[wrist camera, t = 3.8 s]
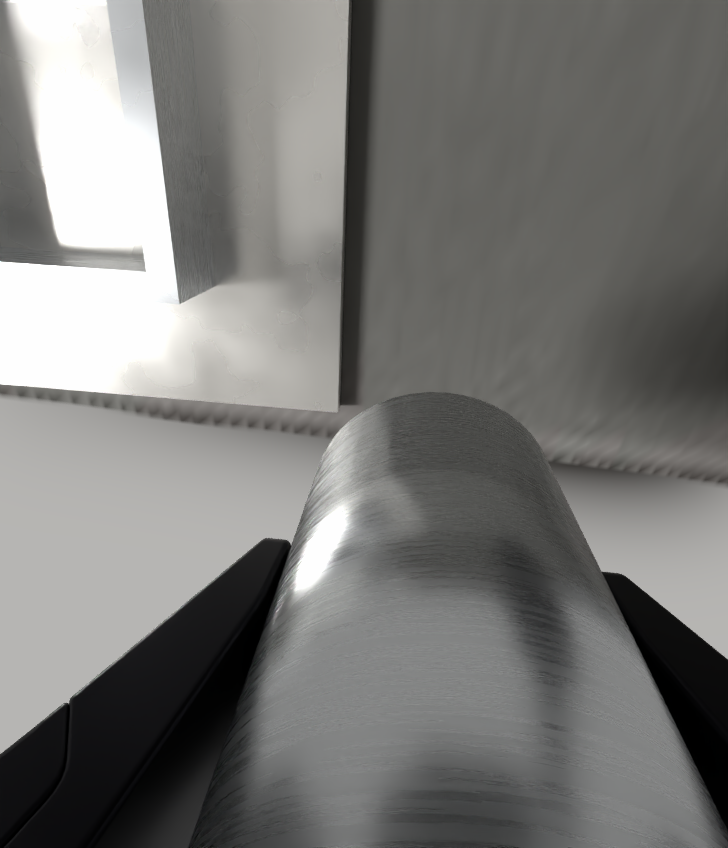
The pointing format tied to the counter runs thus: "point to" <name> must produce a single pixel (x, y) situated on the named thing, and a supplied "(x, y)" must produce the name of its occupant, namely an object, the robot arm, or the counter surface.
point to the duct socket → (175, 198)
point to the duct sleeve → (448, 663)
